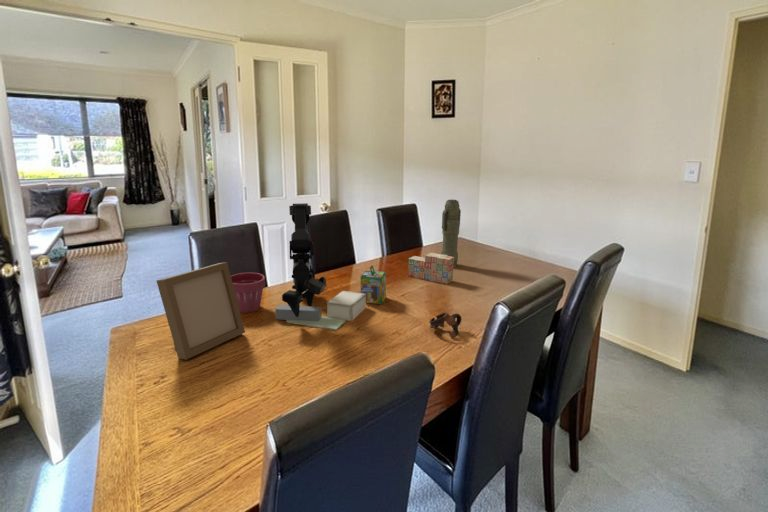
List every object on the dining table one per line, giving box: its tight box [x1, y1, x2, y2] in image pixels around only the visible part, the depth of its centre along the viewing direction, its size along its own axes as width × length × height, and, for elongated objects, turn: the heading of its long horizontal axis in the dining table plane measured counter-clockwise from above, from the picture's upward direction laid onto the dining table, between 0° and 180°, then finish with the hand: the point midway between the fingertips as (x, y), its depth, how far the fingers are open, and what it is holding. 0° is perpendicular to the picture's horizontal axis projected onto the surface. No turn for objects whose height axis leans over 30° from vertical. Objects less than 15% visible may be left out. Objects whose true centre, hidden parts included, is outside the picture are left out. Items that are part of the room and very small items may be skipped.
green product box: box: [359, 264, 387, 305], centre depth 173 cm, size 9×9×15 cm
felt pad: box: [285, 315, 347, 331], centre depth 153 cm, size 20×8×1 cm, turn 71°
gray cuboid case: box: [326, 290, 367, 322], centre depth 162 cm, size 10×14×6 cm
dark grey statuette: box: [440, 199, 462, 267], centre depth 221 cm, size 9×12×35 cm
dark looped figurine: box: [429, 312, 462, 340], centre depth 146 cm, size 12×9×8 cm
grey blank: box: [274, 304, 322, 321], centre depth 155 cm, size 16×4×4 cm, turn 85°
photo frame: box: [156, 261, 246, 360], centre depth 134 cm, size 15×22×25 cm
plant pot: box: [231, 272, 266, 314], centre depth 163 cm, size 14×14×13 cm
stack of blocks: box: [407, 252, 455, 285], centre depth 202 cm, size 21×6×12 cm, turn 57°
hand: (303, 311), depth 154 cm, fingers open, 9 cm apart
